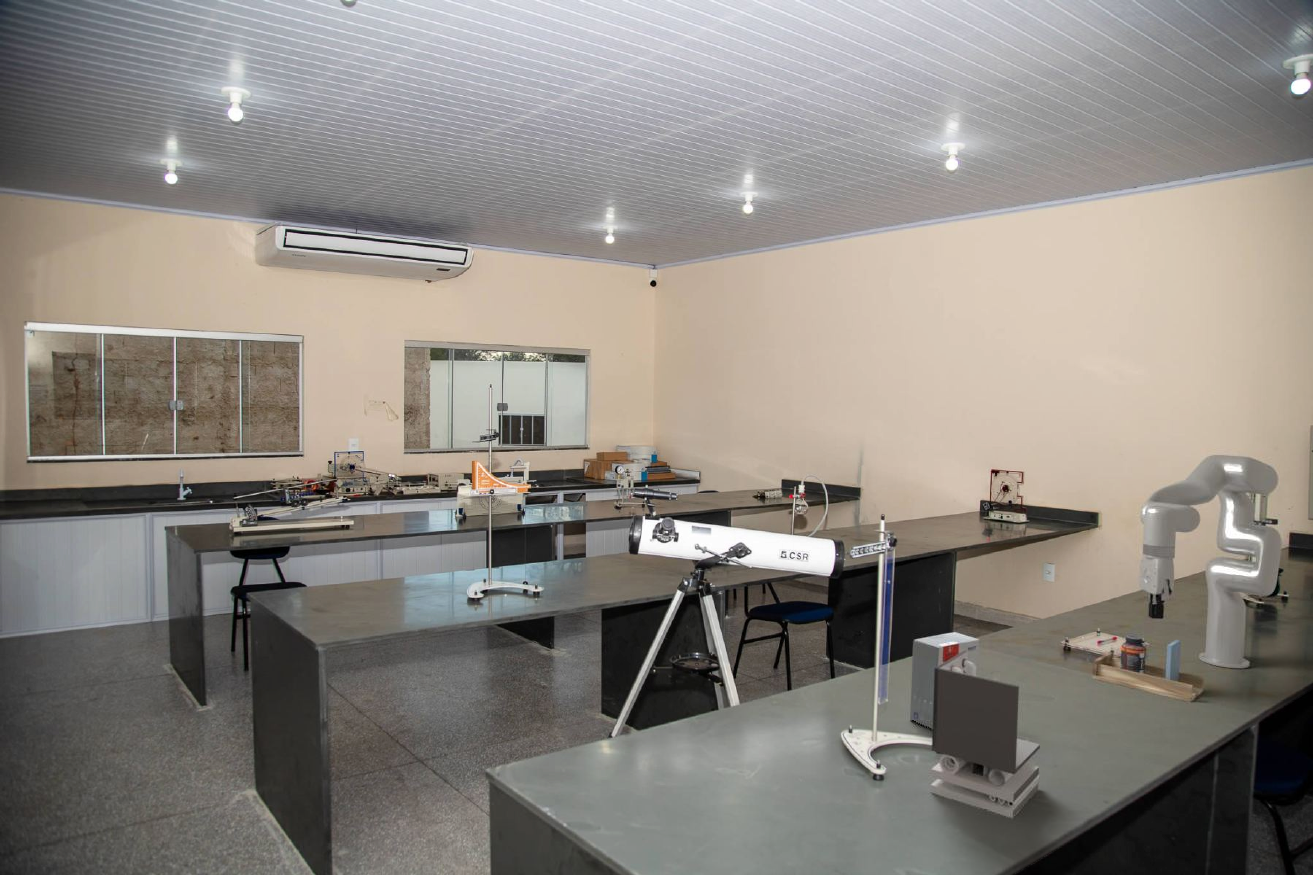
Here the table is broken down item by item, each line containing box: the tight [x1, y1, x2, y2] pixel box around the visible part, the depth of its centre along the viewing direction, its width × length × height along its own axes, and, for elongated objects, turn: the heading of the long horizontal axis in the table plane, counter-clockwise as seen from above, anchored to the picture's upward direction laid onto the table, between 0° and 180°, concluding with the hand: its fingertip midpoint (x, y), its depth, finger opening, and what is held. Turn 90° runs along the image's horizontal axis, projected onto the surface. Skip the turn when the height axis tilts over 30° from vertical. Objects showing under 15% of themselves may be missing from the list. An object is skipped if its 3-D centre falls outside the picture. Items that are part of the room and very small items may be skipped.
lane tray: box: [1091, 651, 1205, 703], centre depth 232 cm, size 13×24×5 cm, turn 43°
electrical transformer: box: [930, 651, 1041, 818], centre depth 168 cm, size 16×19×25 cm
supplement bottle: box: [1120, 634, 1147, 674], centre depth 235 cm, size 6×6×11 cm
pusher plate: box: [1165, 639, 1181, 682], centre depth 227 cm, size 8×1×12 cm, turn 133°
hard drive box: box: [909, 631, 980, 730], centre depth 204 cm, size 16×8×20 cm, turn 122°
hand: (1155, 617), depth 230 cm, fingers closed
